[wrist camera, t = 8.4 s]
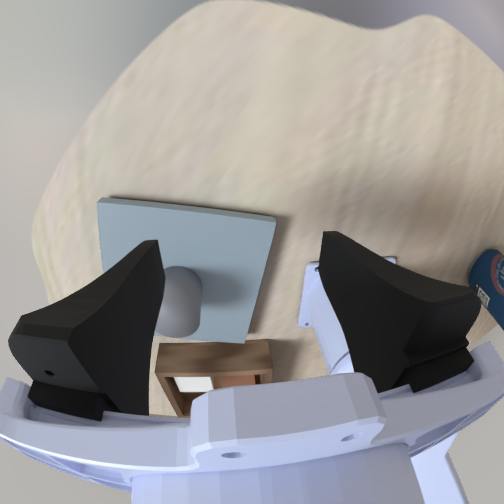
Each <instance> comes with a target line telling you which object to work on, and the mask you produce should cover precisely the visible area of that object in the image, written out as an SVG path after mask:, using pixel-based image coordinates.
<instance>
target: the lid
mask: <svg viewBox="0 0 504 504" xmlns="http://www.w3.org/2000/svg"><path fill="white" fill-rule="evenodd" d="M97 212H98V227H99V239H100V249H101V257H102V265H103V273H105V272H106V271H107V270H109V269H110V268H111V267H112V266H114V265H115V264H116V263H117V262H119V261H120V260H121V259H122V258H123V257H125V256H126V255H127V254H128V253H129V252H130V251H132V250H133V249H134V248H135V247H136V246H138V245H139V244H140V243H141V242H143V241H144V240H157V239H158V243H159V248H160V253H161V258H162V263H163V268H164V272H165V277H166V280H165V289H164V296H163V301H162V305H161V308H160V312H159V316H158V320H157V324H156V328H155V332H154V335H158V336H166V337H172V338H183V339H192V340H203V341H214V342H228V343H245V340H246V336H247V333H248V329H249V325H250V322H251V318H252V314H253V311H254V307H255V303H256V300H257V296H258V292H259V288H260V285H261V281H262V277H263V273H264V269H265V266H266V262H267V258H268V254H269V250H270V246H271V243H272V239H273V235H274V231H275V227H276V223H277V222H276V220H275V217H271V216H264V215H257V214H249V213H242V212H235V211H227V210H219V209H211V208H203V207H194V206H186V205H177V204H167V203H158V202H148V201H137V200H126V199H115V198H103V197H102V198H101V199H100V200H99V201H98V202H97Z"/></svg>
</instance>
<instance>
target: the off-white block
mask: <svg viewBox="0 0 504 504" xmlns="http://www.w3.org/2000/svg"><path fill="white" fill-rule="evenodd" d="M174 379H175V381H176V384H177V386H178V388H179V391H180V392H208V391H210V390H214V384H213V377H174Z"/></svg>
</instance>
